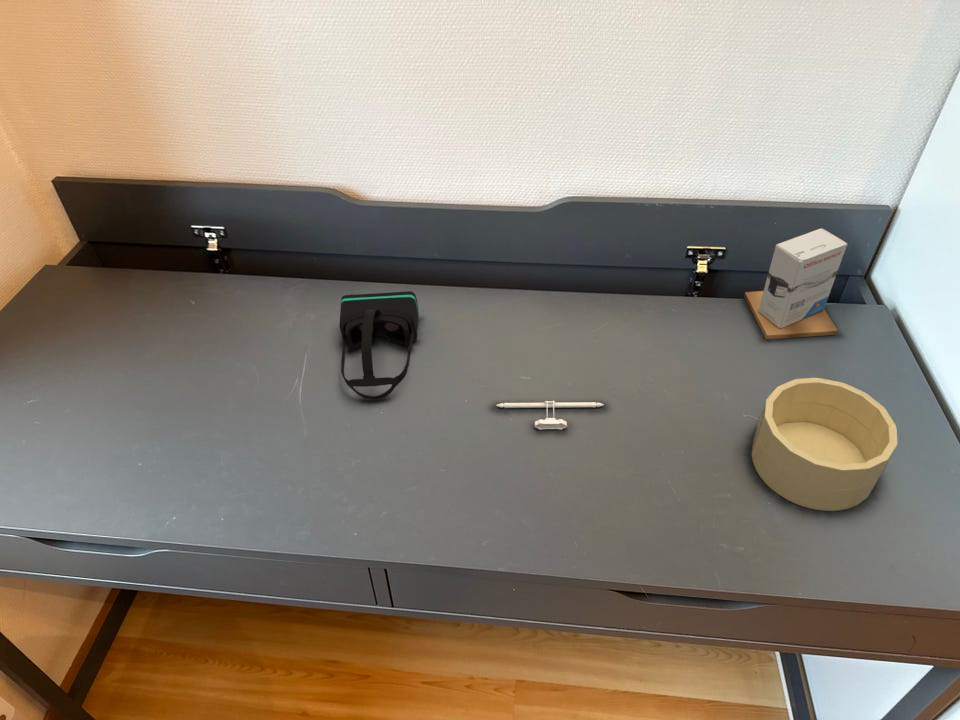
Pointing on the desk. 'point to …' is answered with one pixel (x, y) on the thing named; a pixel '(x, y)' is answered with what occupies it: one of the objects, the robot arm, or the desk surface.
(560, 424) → the picture light
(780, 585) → the desk surface
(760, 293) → the plate
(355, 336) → the virtual reality headset
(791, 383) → the pot
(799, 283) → the ink box
